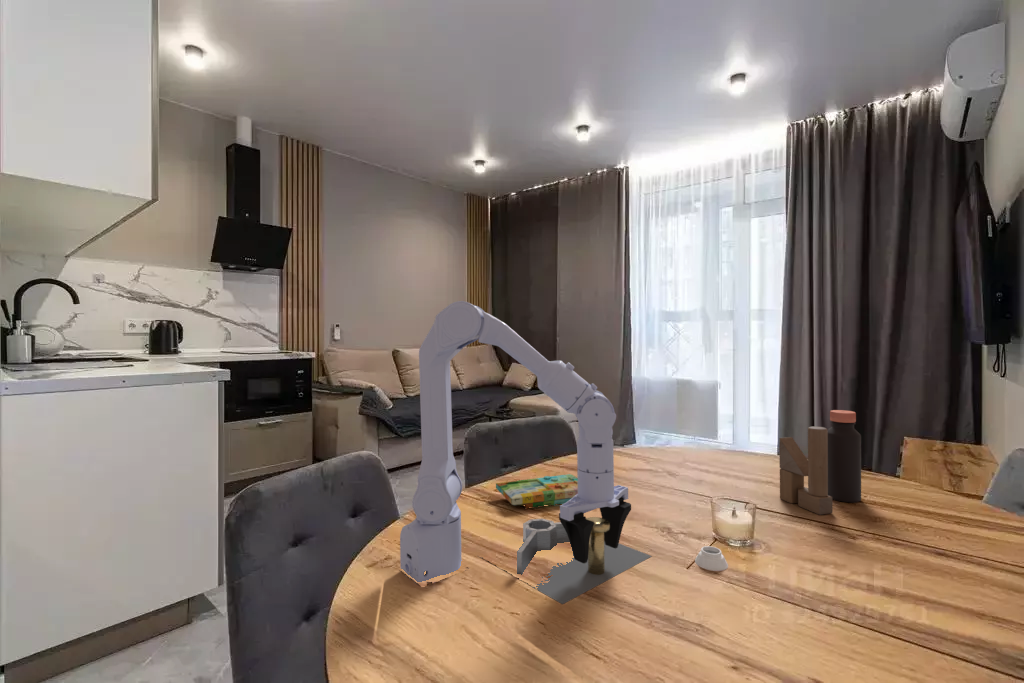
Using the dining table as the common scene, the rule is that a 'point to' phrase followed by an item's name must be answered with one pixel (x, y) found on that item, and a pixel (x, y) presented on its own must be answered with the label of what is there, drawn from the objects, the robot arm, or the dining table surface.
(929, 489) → the dining table surface
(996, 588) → the dining table surface
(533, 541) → the steel hinge
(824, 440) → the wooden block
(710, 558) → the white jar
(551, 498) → the puzzle game
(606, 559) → the mat
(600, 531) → the hinge pin
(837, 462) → the bottle
